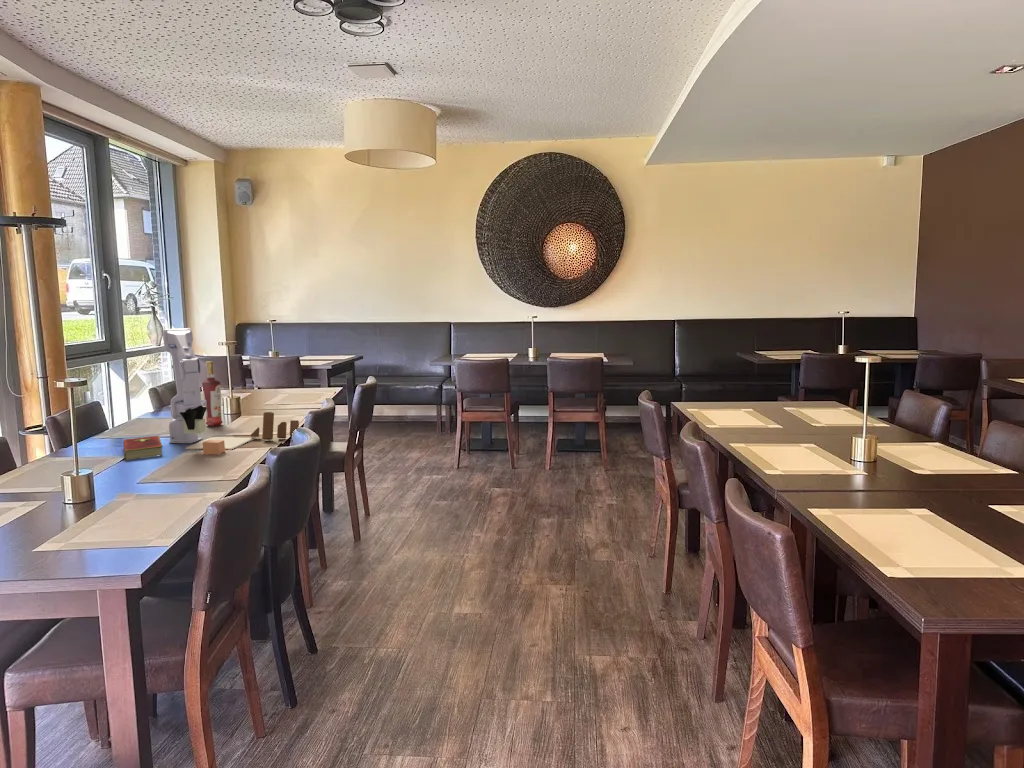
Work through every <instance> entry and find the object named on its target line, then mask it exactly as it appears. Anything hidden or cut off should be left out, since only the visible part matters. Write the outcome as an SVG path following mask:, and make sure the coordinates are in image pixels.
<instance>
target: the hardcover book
mask: <svg viewBox="0 0 1024 768" xmlns="http://www.w3.org/2000/svg"><path fill="white" fill-rule="evenodd" d="M160 438H161V437H160V435H152V436H143V437H133V438H126V439H125V438H124V439H123V452H124V453H123V455H124V459H125V461H129V460H136V459H135V458H139V459H143V458H142V457H147V458H151V457H150V456H155V457H158V456H157V455H162V456H163V451H162V448H163V446H164V445H163V443H162V441H161V439H160Z"/></svg>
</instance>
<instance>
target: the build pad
mask: <svg viewBox="0 0 1024 768" xmlns="http://www.w3.org/2000/svg"><path fill="white" fill-rule="evenodd" d="M207 440H224V444H225V449H228V450H227V451H233V450H235V449H237V448H239V447H242V446H243V444H244V445H246V444H248V443H249V442H252V441H255V440H256V437H237V436H236V437H235V436H234V437H232V436H231V437H228V436H227V437H226V436H225V437H224V436H223V437H222V436H218V437H217V436H213V437H209V438H207V439H204V440H200V441H199V442H195V443H194V444H191V445H189V446H185V450H199V449H203V442H205V441H207ZM247 442H248V443H247ZM245 443H246V444H245ZM234 448H235V449H234ZM232 449H233V450H232Z"/></svg>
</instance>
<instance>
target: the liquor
mask: <svg viewBox="0 0 1024 768" xmlns="http://www.w3.org/2000/svg"><path fill="white" fill-rule="evenodd" d="M205 362H206V368H207V374H206V375H207V377H206V380H203V381H202V383H201V387H202V395H203V400H206V402H207V405H206V406H204V407H206V408H207V409H206V411H205V417H206V419H205V425H207V426H208V427H210V426H216V427H219V425H220V426H221V425H222V424H223V423H224V422H223V419H222V389H221V381H220V380H219V379H216V378H215V377H216V376H215V373H214V361H213V360H211V361H210V360H209V361H207V360H206V361H205Z"/></svg>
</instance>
